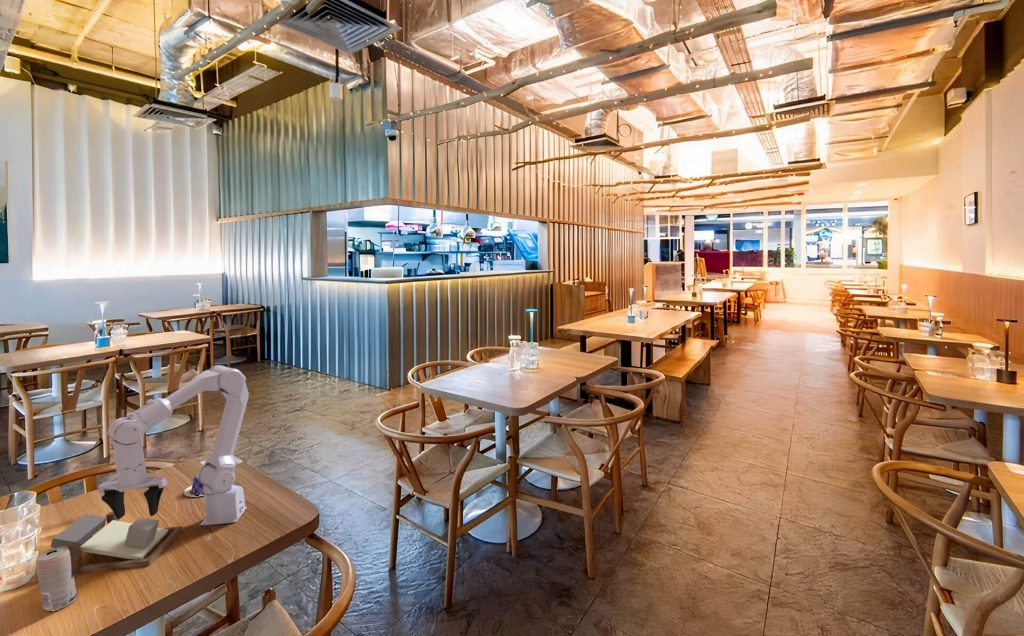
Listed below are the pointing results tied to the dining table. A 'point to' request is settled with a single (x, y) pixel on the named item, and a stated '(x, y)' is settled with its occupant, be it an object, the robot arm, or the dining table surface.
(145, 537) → the stone
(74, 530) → the flap
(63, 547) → the energy drink
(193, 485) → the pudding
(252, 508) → the dining table surface
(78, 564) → the frame
